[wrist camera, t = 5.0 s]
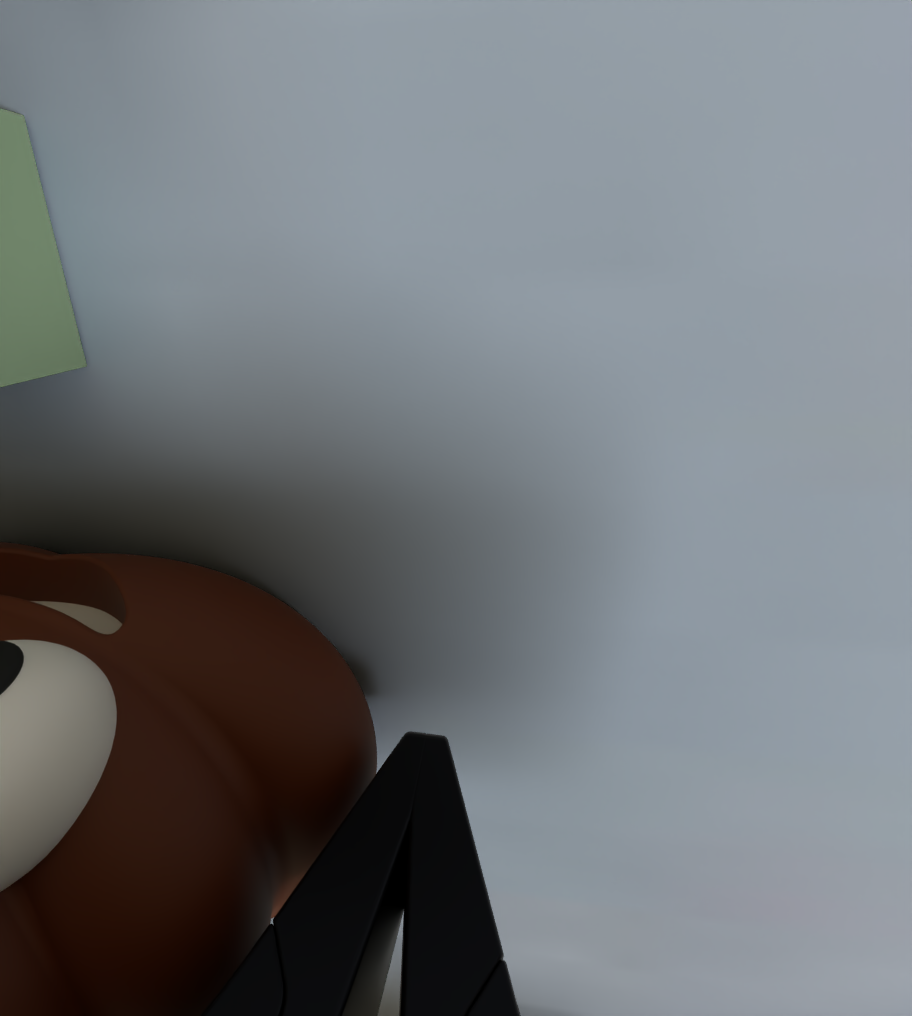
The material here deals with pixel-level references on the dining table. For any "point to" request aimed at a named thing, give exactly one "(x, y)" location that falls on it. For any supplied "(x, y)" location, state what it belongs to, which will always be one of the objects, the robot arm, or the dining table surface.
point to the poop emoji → (157, 777)
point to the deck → (30, 270)
